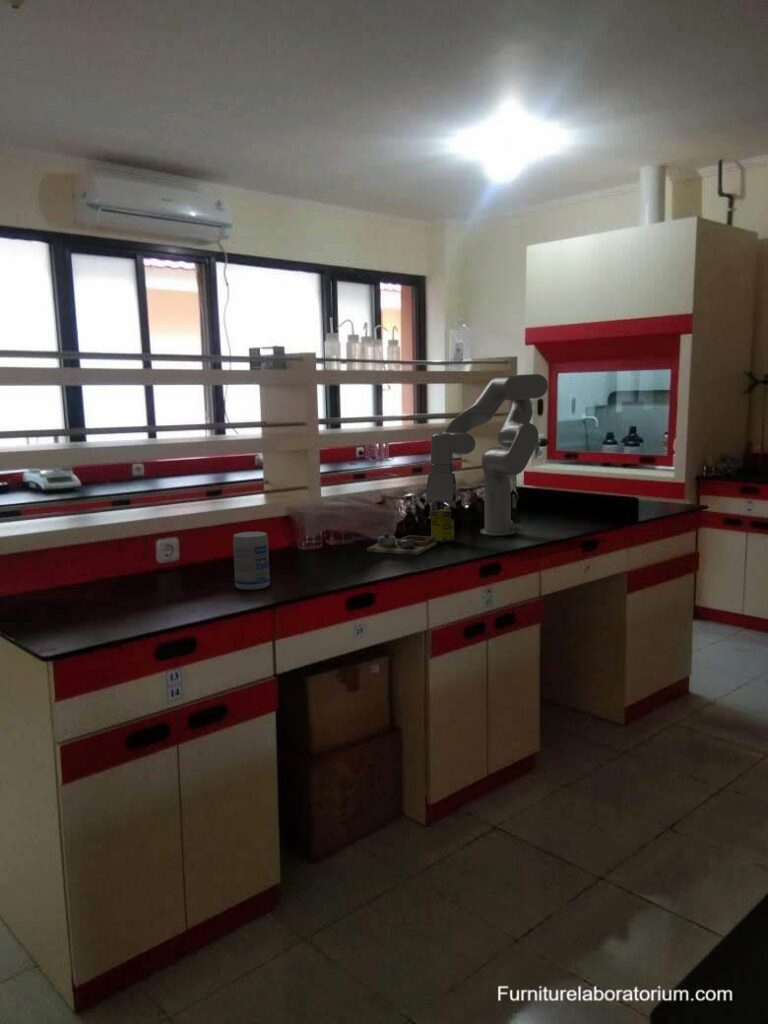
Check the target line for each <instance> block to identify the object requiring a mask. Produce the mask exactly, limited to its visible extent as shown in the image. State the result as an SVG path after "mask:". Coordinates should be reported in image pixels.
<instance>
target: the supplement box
mask: <svg viewBox="0 0 768 1024" xmlns="http://www.w3.org/2000/svg"><path fill="white" fill-rule="evenodd" d="M430 537H435V541H436V543H439V544H446V543H451V542H454V541H455V519H451V509H450V510H449V509H444V508H443V509H437V510H430Z"/></svg>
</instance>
